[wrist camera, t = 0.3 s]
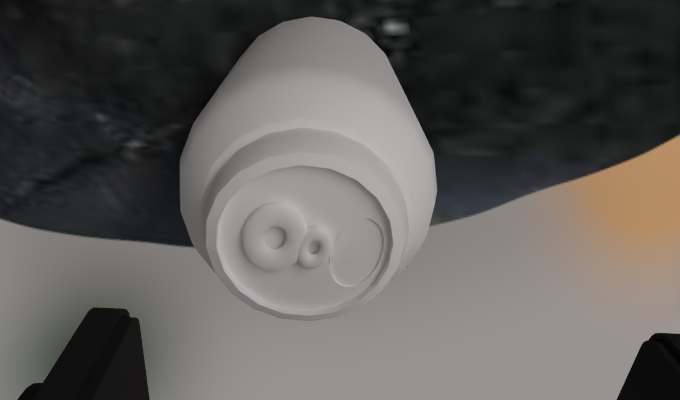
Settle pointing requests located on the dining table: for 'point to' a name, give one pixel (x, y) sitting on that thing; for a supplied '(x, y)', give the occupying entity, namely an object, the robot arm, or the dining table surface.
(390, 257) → the can
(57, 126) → the dining table surface
